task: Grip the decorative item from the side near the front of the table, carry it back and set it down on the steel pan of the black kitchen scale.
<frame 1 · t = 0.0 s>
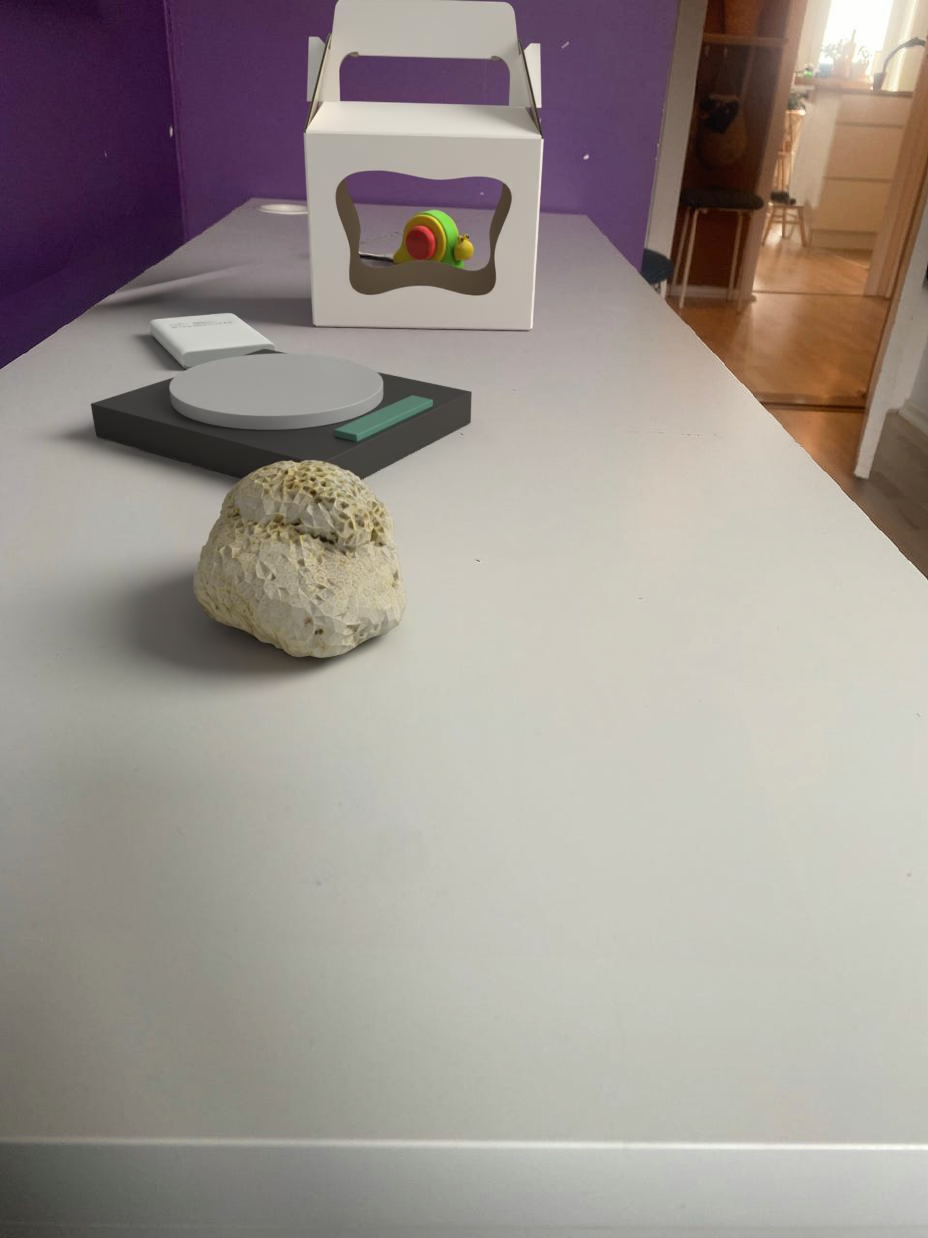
scale: (289, 429, 73), on the table
toy measuring tape: (407, 264, 129), on the table
gable box: (423, 315, 105), on the table
decorative item: (309, 612, 50), on the table
hard drive: (211, 349, 91), on the table
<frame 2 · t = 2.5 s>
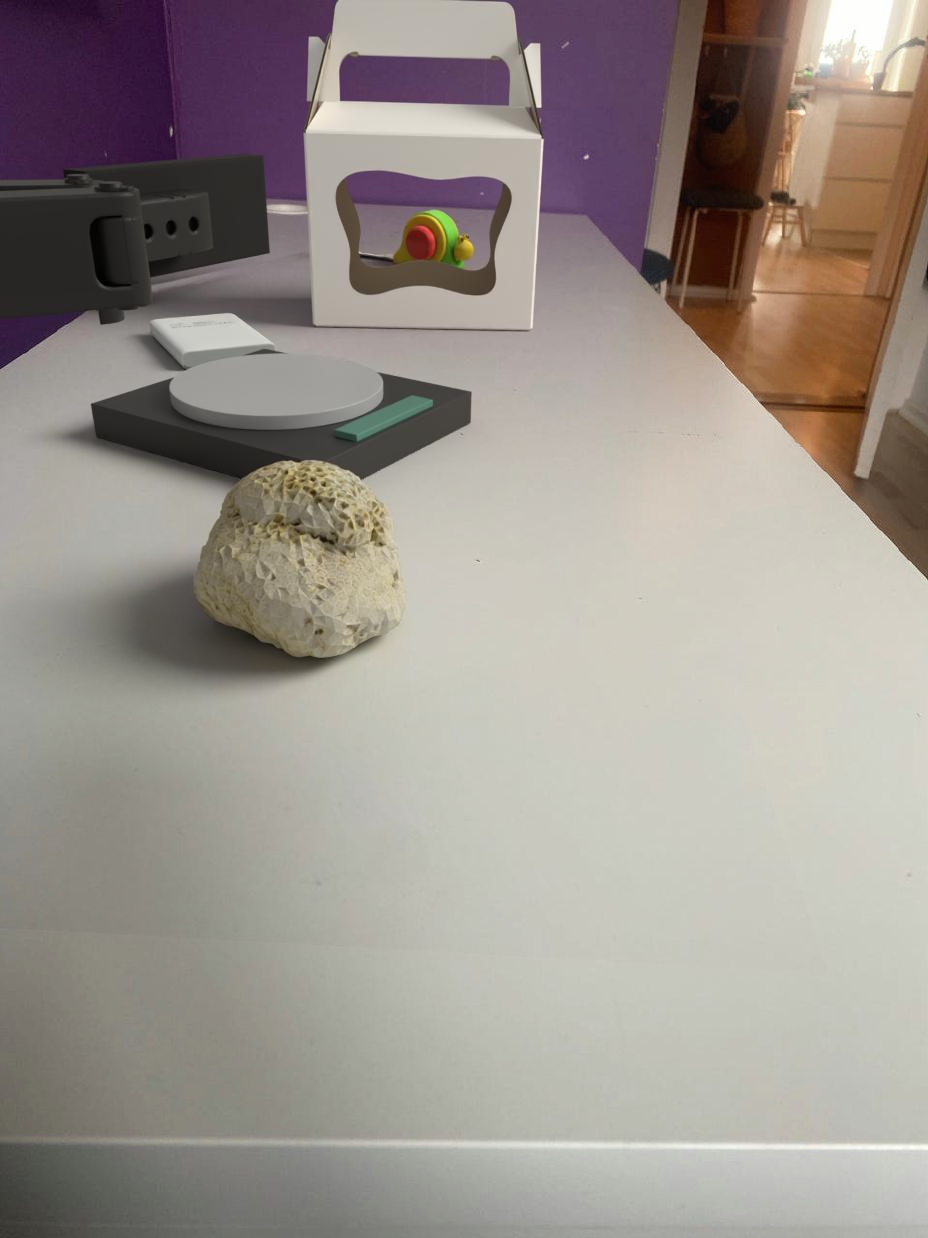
hand: (98, 185, 33), 20 cm above the table, tool horizontal, fingers open, 13 cm apart
nothing on the table moved.
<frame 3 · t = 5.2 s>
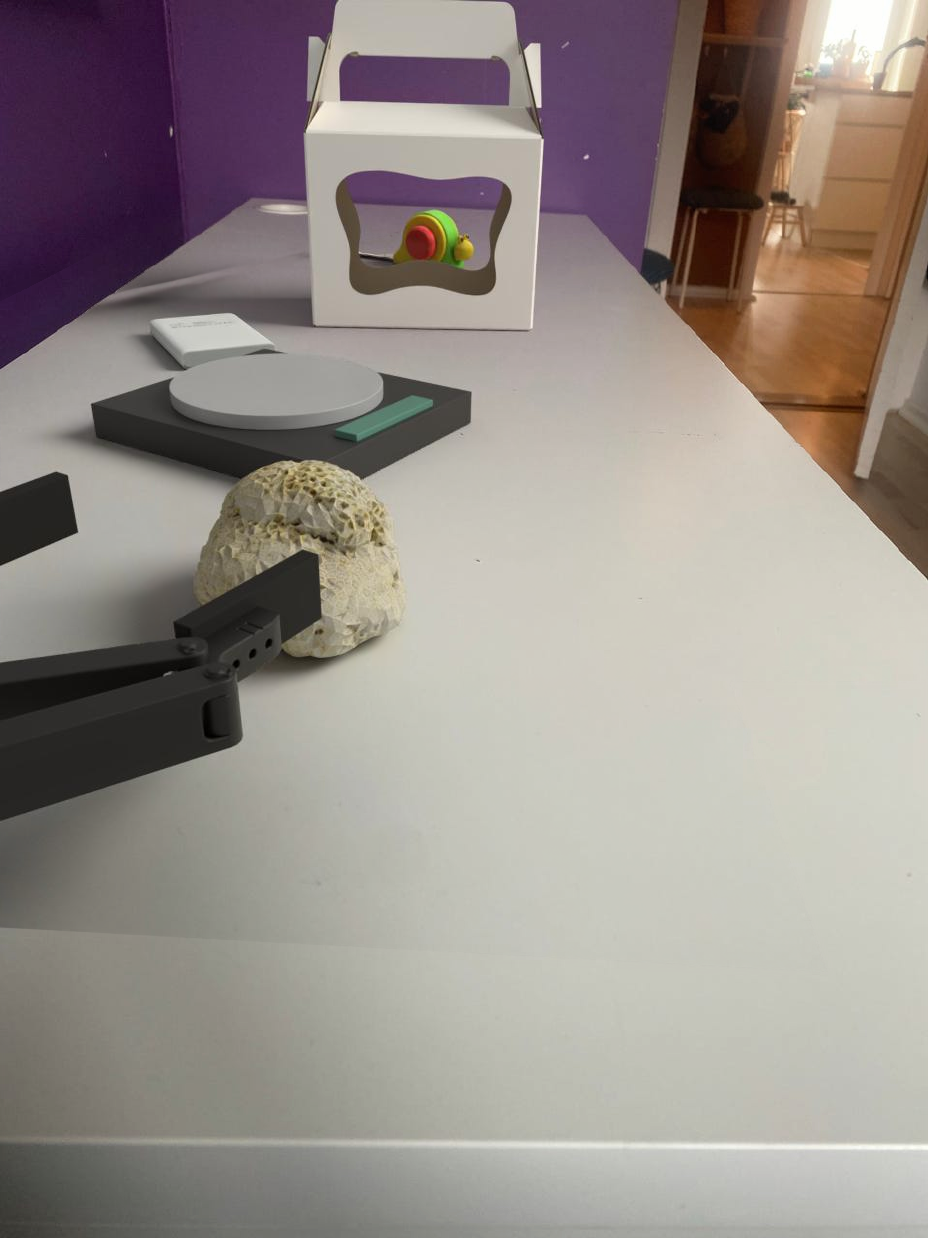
hand: (181, 539, 41), 7 cm above the table, tool horizontal, fingers open, 13 cm apart
nothing on the table moved.
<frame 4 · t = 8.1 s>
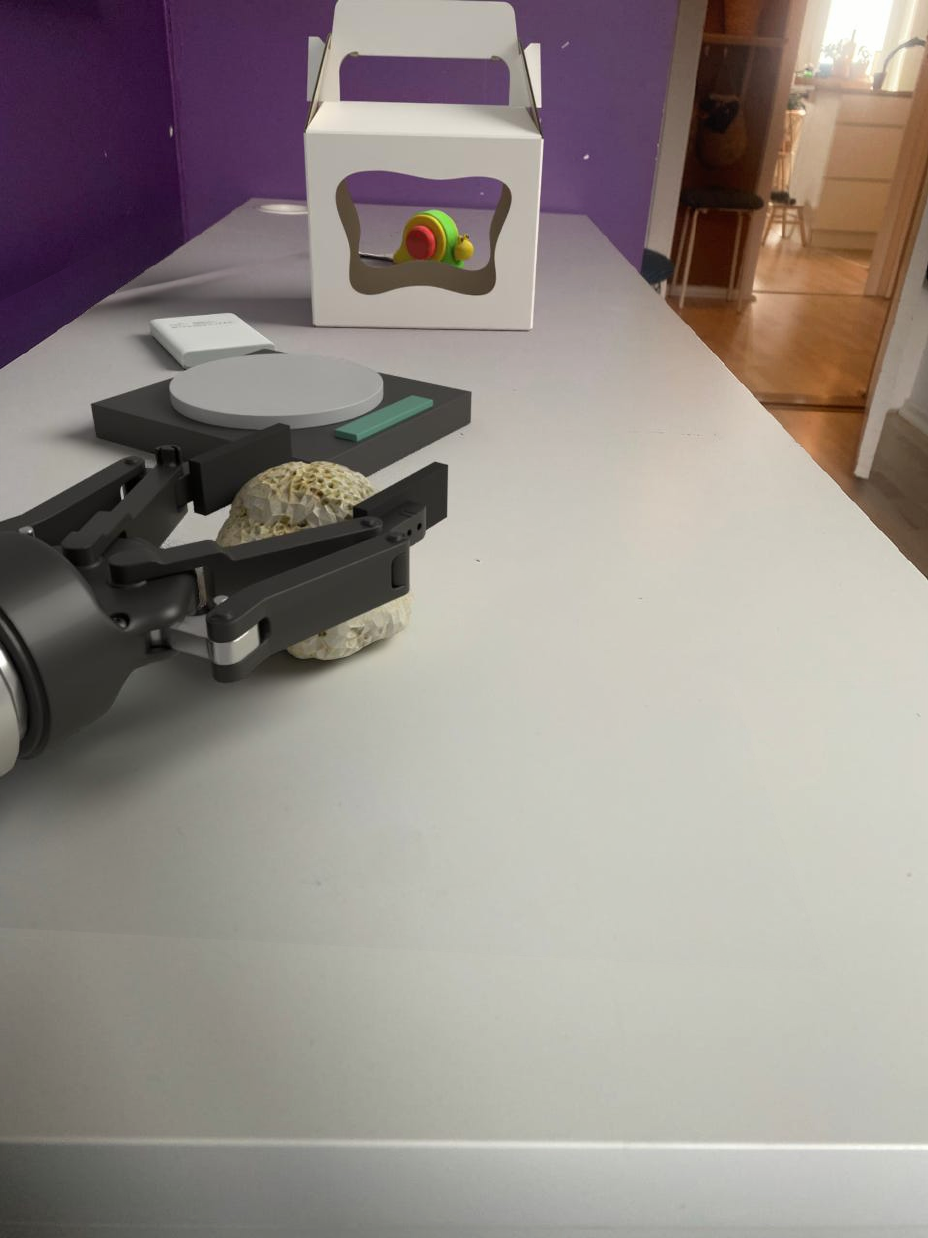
hand: (360, 468, 50), 6 cm above the table, tool horizontal, fingers closed on decorative item, 9 cm apart
decorative item: (316, 614, 50), on the table, touching gripper
everything else where it was.
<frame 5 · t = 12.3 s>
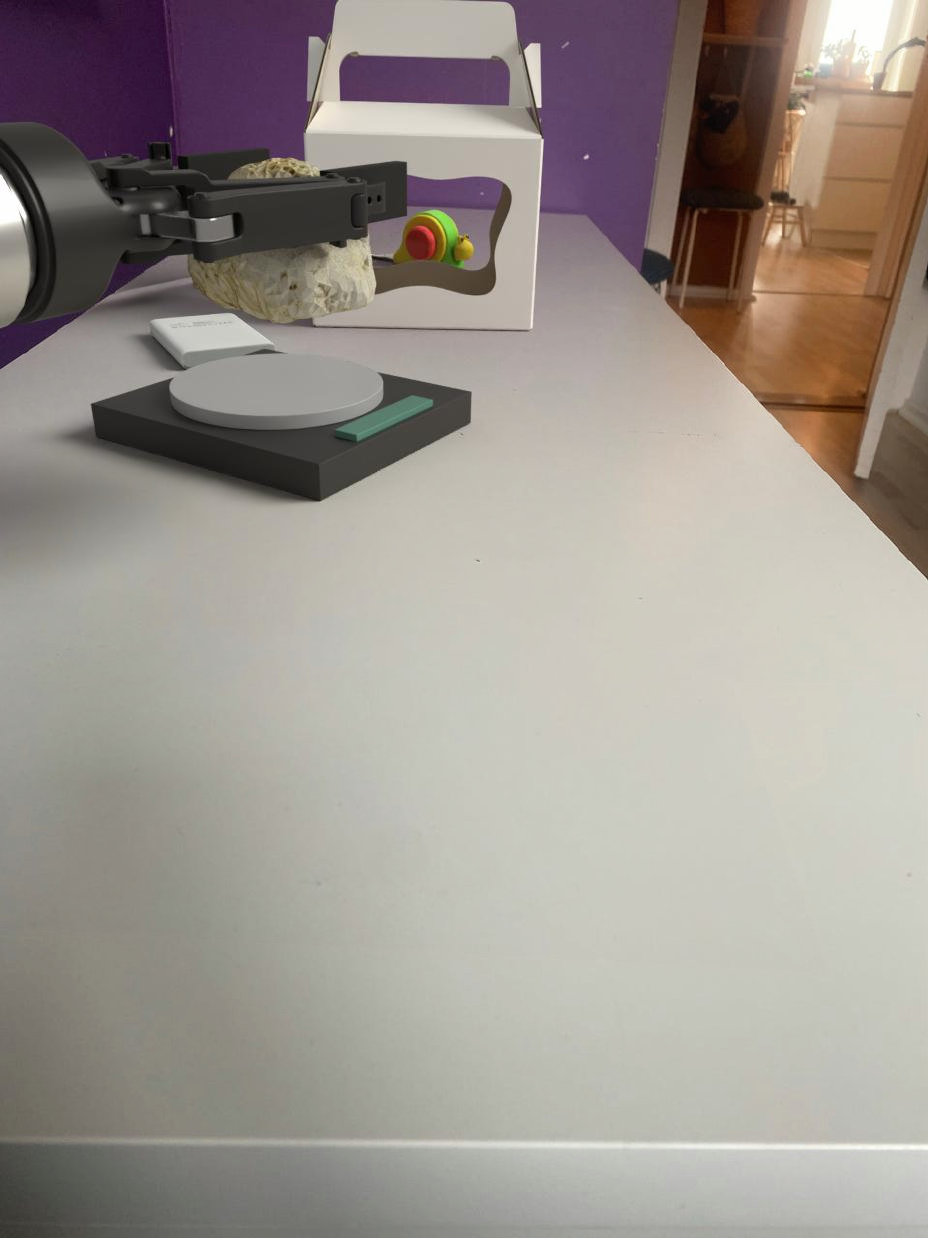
hand: (330, 180, 56), 18 cm above the table, tool horizontal, fingers closed on decorative item, 9 cm apart
decorative item: (291, 308, 56), point 12 cm above the table, touching gripper
everything else where it was.
when the fingers open (9 cm above the table, at t = 16.8 s): decorative item stays where it is, resting on scale.
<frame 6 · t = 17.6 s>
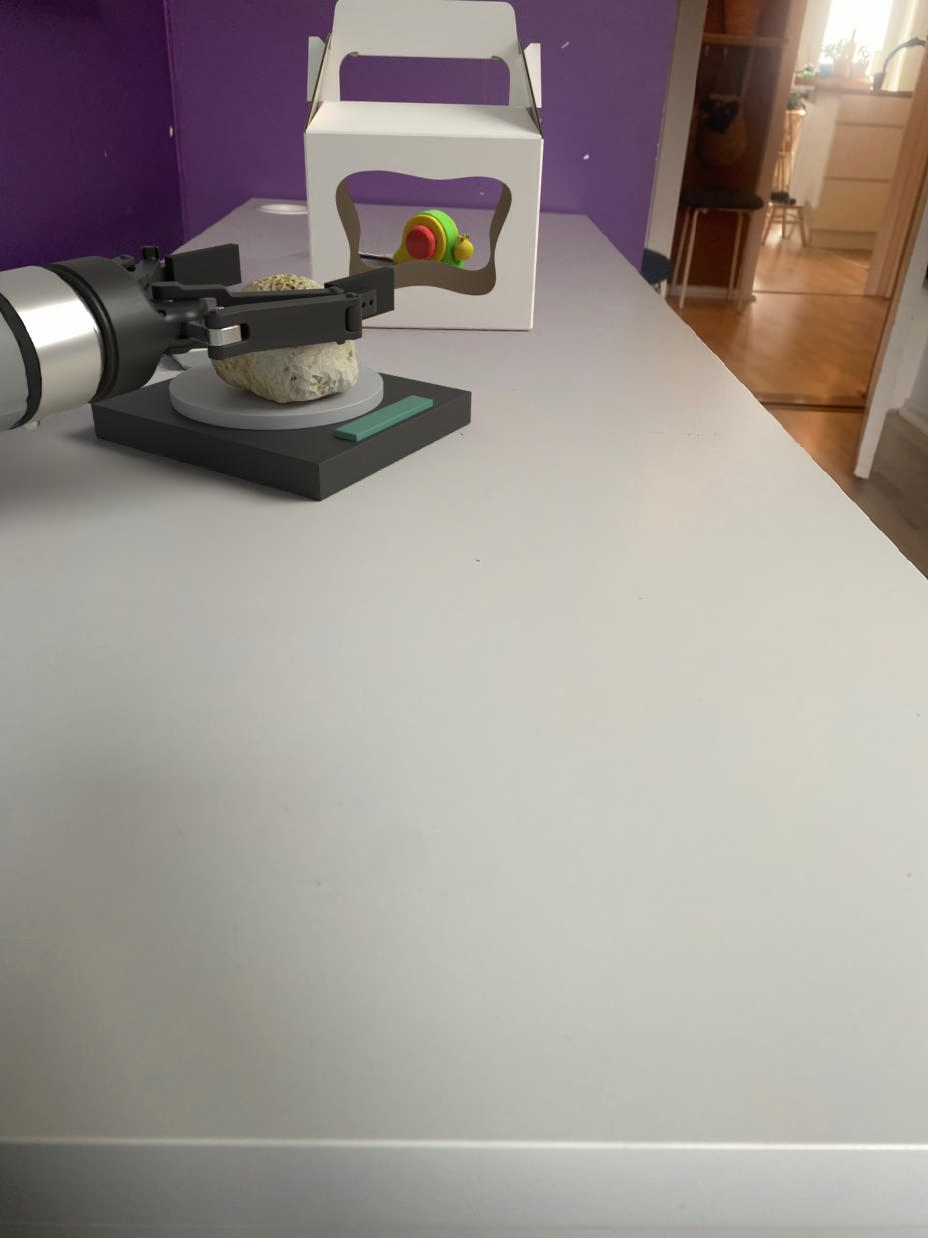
hand: (310, 275, 70), 10 cm above the table, tool horizontal, fingers open, 13 cm apart
decorative item: (292, 387, 71), point 3 cm above the table, touching scale
everything else where it was.
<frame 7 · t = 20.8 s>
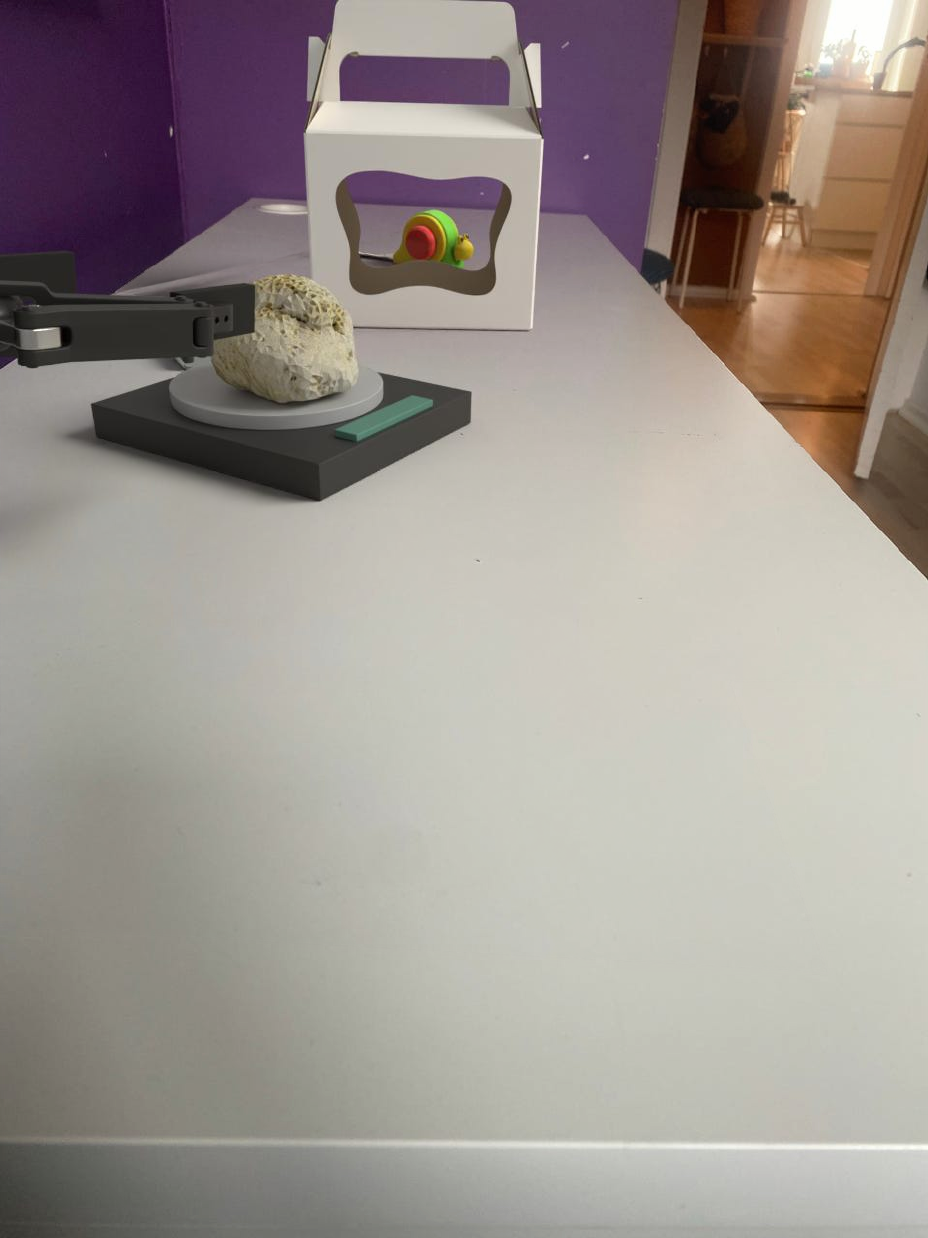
hand: (157, 290, 61), 11 cm above the table, tool horizontal, fingers open, 13 cm apart
nothing on the table moved.
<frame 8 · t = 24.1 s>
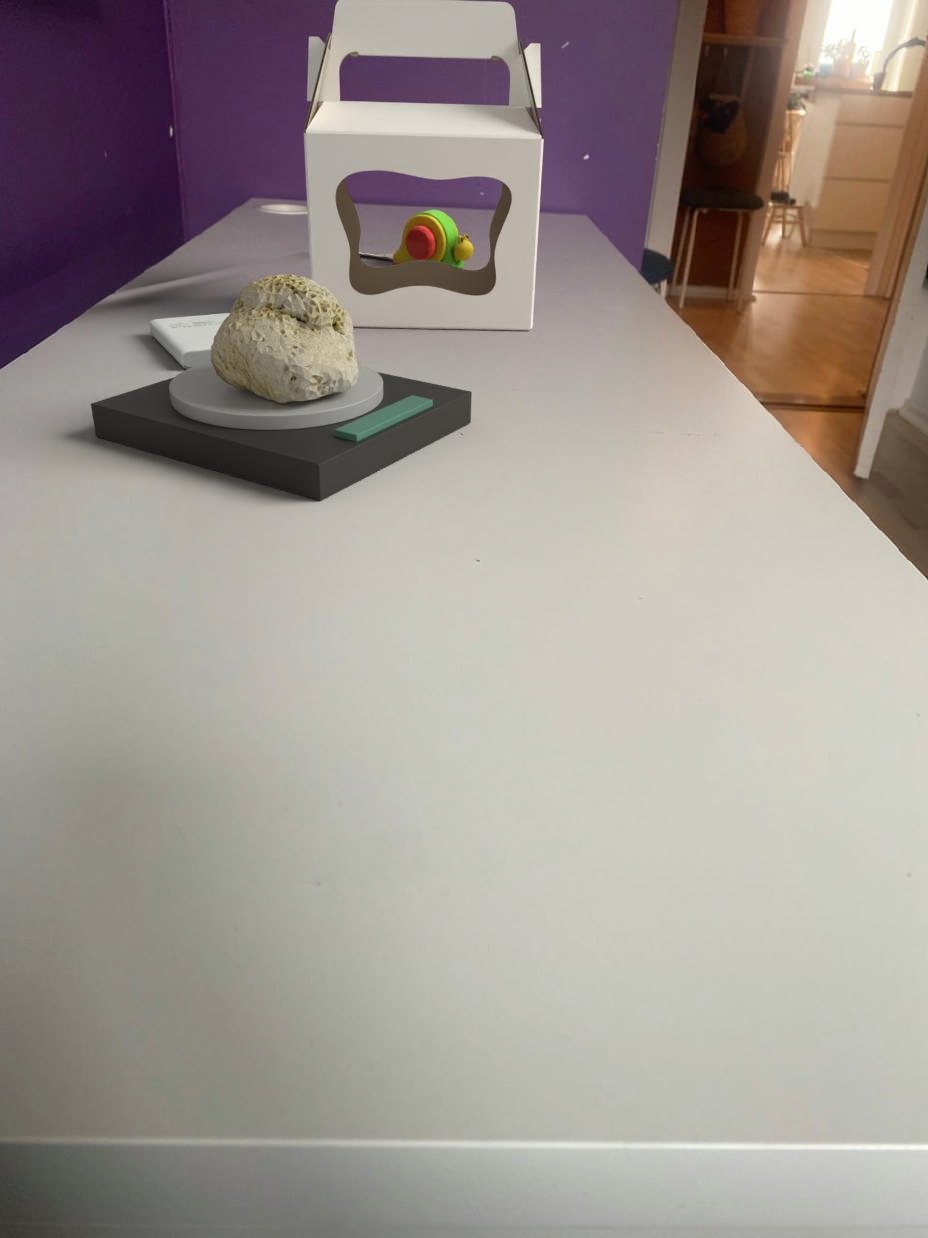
nothing on the table moved.
at the end: decorative item inside the target area on the scale (1.2 cm from its centre), point 3.2 cm above the scale's base; decorative item tilted 2°; the gripper is holding nothing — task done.
